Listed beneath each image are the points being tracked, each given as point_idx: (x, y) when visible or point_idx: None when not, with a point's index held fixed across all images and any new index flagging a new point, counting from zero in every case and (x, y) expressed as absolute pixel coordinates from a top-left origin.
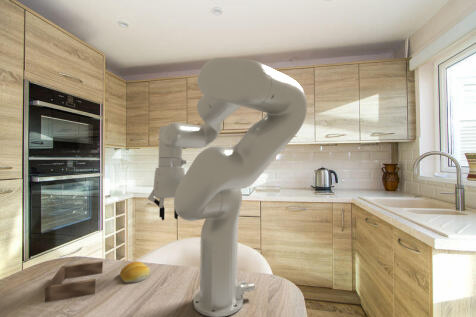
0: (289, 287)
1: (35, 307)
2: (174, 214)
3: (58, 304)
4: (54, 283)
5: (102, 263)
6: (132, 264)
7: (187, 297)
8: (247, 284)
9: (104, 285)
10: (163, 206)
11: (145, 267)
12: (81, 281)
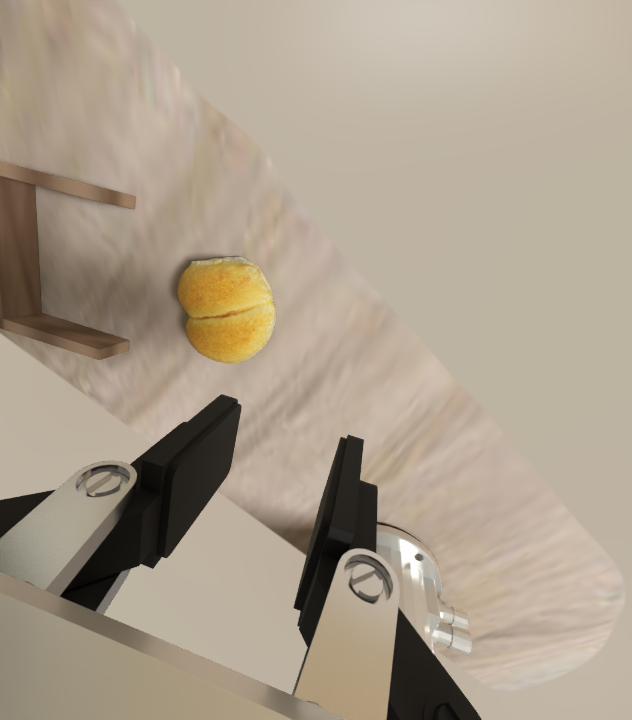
0: (587, 649)
1: None
2: (332, 469)
3: (64, 351)
4: (8, 290)
5: (107, 198)
6: (202, 305)
7: None
8: (450, 646)
9: (148, 315)
10: (141, 555)
11: (248, 337)
12: (67, 342)
